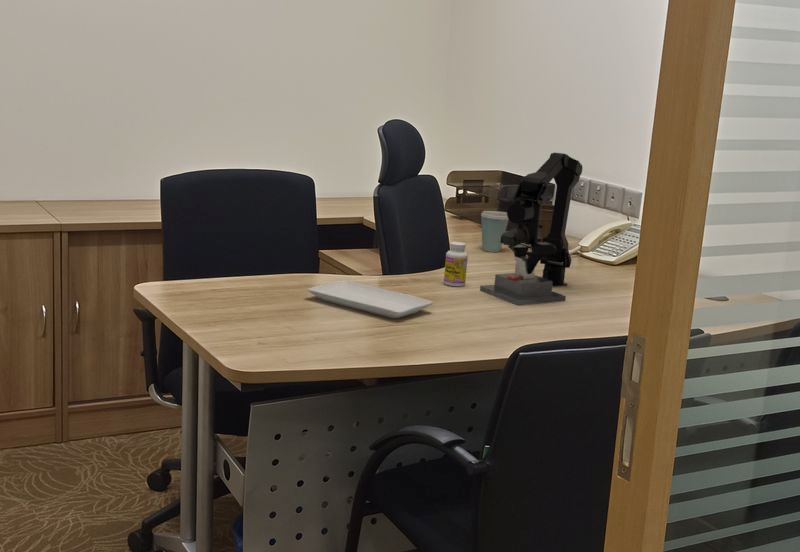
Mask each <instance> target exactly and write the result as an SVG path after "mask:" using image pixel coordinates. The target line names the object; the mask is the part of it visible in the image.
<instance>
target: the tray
mask: <svg viewBox="0 0 800 552" xmlns="http://www.w3.org/2000/svg"><path fill="white" fill-rule="evenodd" d="M306 291H307V292H309V293H310V294H311V295H312V296H315V297H316V298H319V299H320V300H321V301H324V302H328V303H333V304H336V305H340V306H343V307H348V308H351V309H356V310H359V311H363V312H367V313H369V314H370V313H371V314H375V315H379V316H381V317H386V318H391V319H399V318H403V317H406V316H410V315H414V314H416V313H419V312H420V311H422V310H425V309H427V308H428V307H430V306H432V305H433V304H434V303H435V302H434V301H432V300H430V299H427V298H423V297H419V296H416V295H415V296H414V295H409V294H406V293H401V292H397V291H392V290H390V289H384V288H381V287H376V286H372V285H368V284H364V283H359V282H356V281H351V280H347V279H342V280H341V279H340V280H338V281H334V282H329V283H324V284H321V285H317V286H316V285H315V286H313V287H308V288H307V289H306Z"/></svg>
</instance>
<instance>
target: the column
mask: <svg viewBox="0 0 800 552" xmlns="http://www.w3.org/2000/svg"><path fill="white" fill-rule="evenodd" d="M514 261H515V266H514V267H515V268H514V273H515V276H516V277H519V279H521V280H530V279H534V275H535V268H536V267H535V268H534V270H533V272H532V273H531V274H528V270H527V269H528V256H527V255H526V256H516V257H515V256H514Z"/></svg>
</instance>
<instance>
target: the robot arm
mask: <svg viewBox="0 0 800 552" xmlns="http://www.w3.org/2000/svg"><path fill="white" fill-rule="evenodd" d="M582 173H583V165H582V163H580V161H579V160H578V159H575V158H573V157H571V156H569V155H568V154H566V153H563V152H562V153H561V152H551V153H550V155H549V157H548V159H547V160H546V161H544V163H543V164H542V165H541V166H540V167H539V168H538V169H537V171H534V172H532V173H528V174H526V175H525V176H524V177H522V179H521V180H520V182H519V184H518V187H517V189H516V191H515V194H514V196H513V200H514V203H513V204H512V203H511V205H510V206H509V207H508V209H507V210H506V213H507V217H508V219H509V220H508V221H509V222H511V223H512V224H515V228H512V229H510V230H508V231H507V230H506V231H505V233H503V234H502V236H501V241H500V243H502V245H504V246H507V248H508V249H510V250H511V251H512V253H513V254H514V258H515V257H516V256H528V269H527V270H528V274H531V273H532V272H533V270H534V268H536V267H537V265H538V263H539V262H540V265H543V266H544V267H543V269H542V276H541V277H542V278H545V279H548V280H551V281H553V284H552V287H560V286H567V285H568V283H566V282H565V275H566V269H567V268H571V264H572V258H571V253H570V252H569V242H568V239H567V237H566V228H567V222H568V217H569V211H570V204H571V198H572V192H573V189H574V188H575V187H576V185H577V184H578V182H579V181H580V178H581V175H582ZM552 180H554V183H555V185H556V192H555V198H554V202H553V203H554V204H553V205H554V209H553V215H552V221H551V227H550V233H549V234H548V235H547V236H546V237H544V238H543V239H542V242H541V239H540V238H538V234H539V228H542V225H541V224H540V215H541V204H544V203H545V202H544V199H545V197H546V195H547V194H548V191H549V184H550V182H552ZM537 242H538V243H537ZM530 244H531V245H530ZM529 248H530V249H529ZM534 271H535V270H534Z"/></svg>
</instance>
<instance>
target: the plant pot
mask: <svg viewBox="0 0 800 552" xmlns="http://www.w3.org/2000/svg"><path fill="white" fill-rule="evenodd" d="M553 209H554V204H544V203H543V204H541V215H540V224H541V225H542V228H539V234H538V238H540V239H541V242H542V239H543V238H544V237H546V236H547V235H548V234H549V233H550V227H551V221H552V215H553ZM537 243H538V242H537ZM530 245H531V244H530Z"/></svg>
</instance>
